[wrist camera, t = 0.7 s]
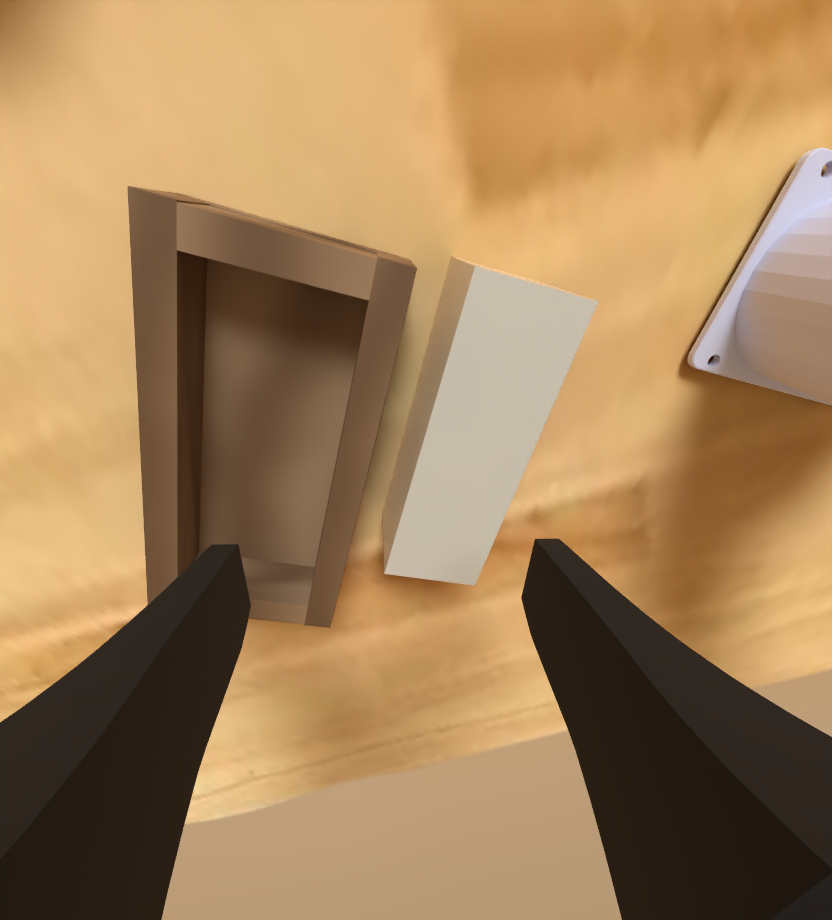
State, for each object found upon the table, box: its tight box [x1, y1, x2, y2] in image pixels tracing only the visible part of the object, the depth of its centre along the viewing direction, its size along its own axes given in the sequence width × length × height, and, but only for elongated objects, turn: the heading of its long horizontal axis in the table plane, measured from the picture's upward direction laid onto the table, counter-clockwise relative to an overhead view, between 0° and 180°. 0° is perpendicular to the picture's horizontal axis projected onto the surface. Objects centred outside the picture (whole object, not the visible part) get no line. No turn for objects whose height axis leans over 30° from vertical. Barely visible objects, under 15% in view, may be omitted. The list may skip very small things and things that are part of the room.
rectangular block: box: [383, 256, 598, 585], centre depth 17 cm, size 4×12×4 cm, turn 166°
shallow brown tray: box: [128, 186, 417, 628], centre depth 17 cm, size 8×16×4 cm, turn 166°
